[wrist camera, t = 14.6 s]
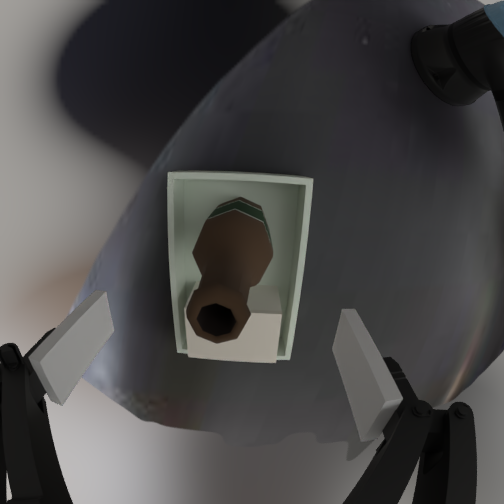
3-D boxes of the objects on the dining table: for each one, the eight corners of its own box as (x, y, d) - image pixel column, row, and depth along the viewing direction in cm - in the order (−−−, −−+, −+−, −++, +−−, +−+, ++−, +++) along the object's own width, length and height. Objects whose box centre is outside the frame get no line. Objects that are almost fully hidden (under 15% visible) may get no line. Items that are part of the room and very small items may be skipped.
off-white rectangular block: (277, 285, 40) (282, 314, 33) (272, 330, 43) (275, 362, 35) (196, 281, 40) (184, 308, 33) (198, 325, 43) (188, 356, 35)
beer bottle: (211, 249, 39) (157, 365, 16) (212, 194, 36) (141, 250, 13) (266, 252, 39) (279, 375, 16) (270, 196, 36) (295, 258, 13)
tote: (304, 176, 36) (313, 178, 30) (286, 337, 44) (289, 359, 39) (180, 170, 36) (167, 172, 30) (185, 330, 44) (177, 352, 39)
